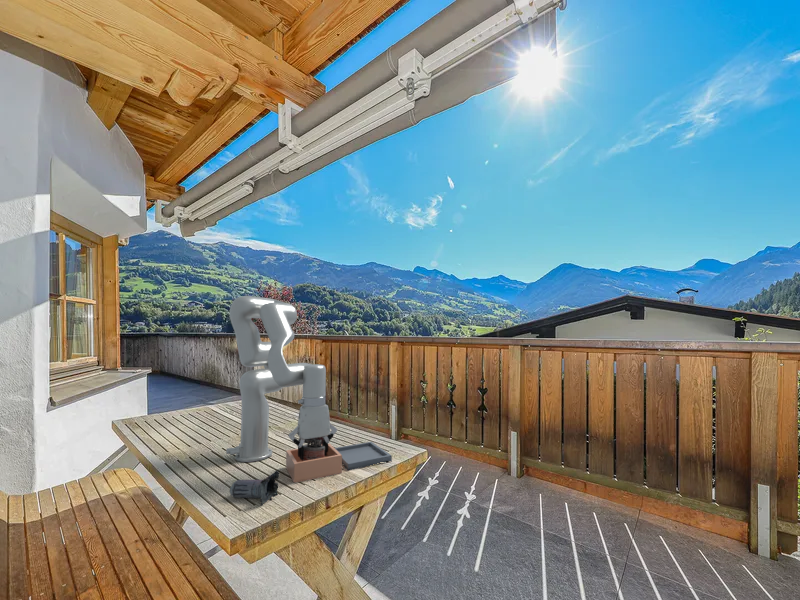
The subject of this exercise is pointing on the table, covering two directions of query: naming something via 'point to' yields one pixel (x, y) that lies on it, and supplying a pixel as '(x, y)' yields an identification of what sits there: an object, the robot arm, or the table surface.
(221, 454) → the table surface
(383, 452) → the tray
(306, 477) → the pink open box
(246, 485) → the dark blue piece
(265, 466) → the table surface
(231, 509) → the table surface
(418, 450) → the table surface
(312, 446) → the lighter
